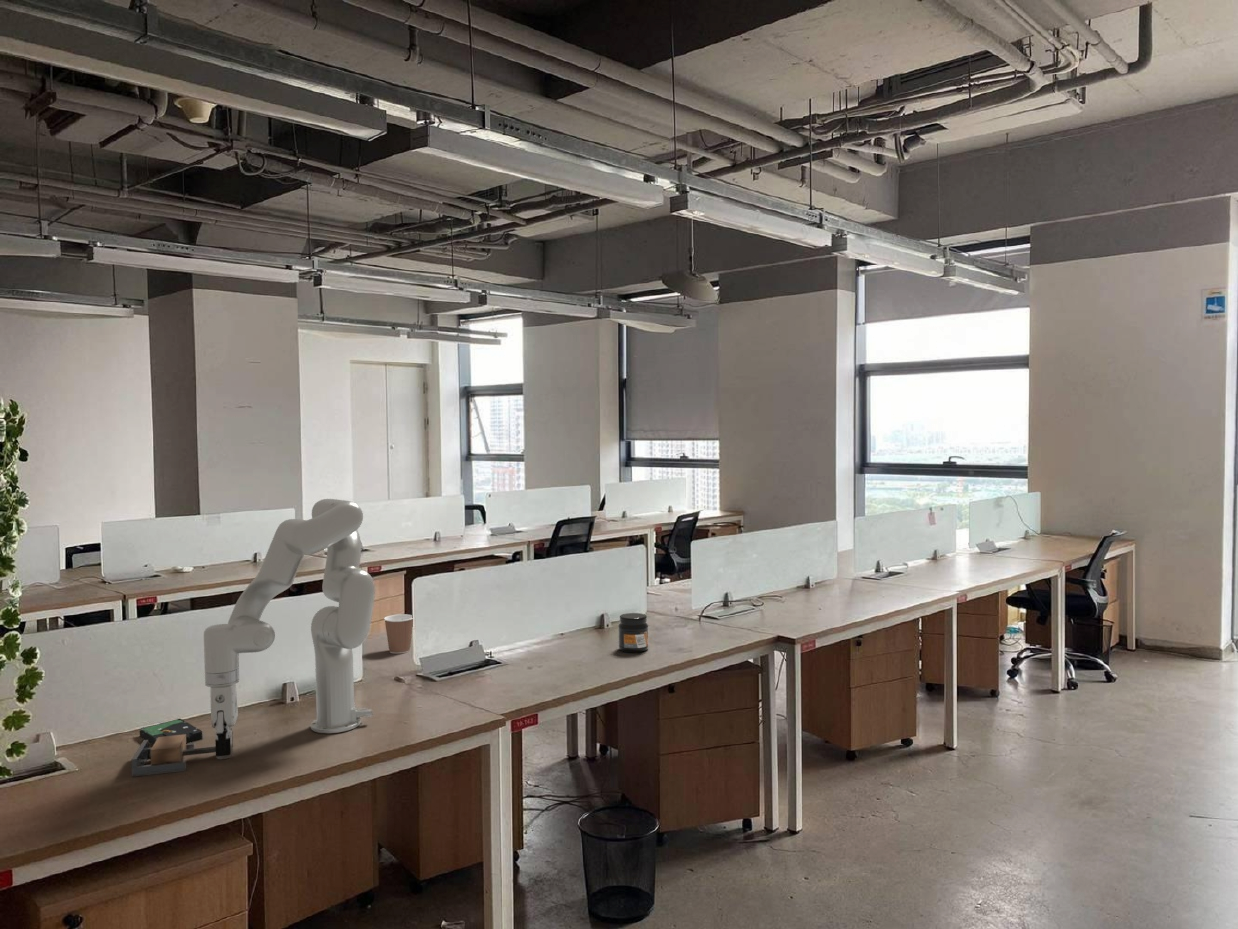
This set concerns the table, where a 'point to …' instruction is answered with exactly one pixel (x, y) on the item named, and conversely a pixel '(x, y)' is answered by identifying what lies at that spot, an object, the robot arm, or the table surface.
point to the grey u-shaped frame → (142, 769)
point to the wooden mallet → (179, 749)
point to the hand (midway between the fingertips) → (224, 751)
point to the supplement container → (633, 633)
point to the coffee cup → (399, 632)
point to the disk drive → (171, 731)
